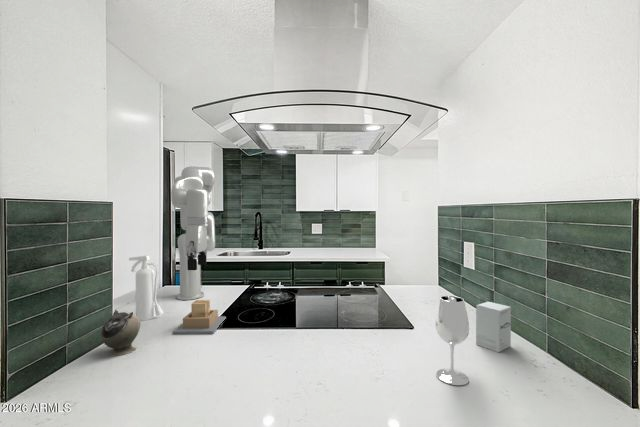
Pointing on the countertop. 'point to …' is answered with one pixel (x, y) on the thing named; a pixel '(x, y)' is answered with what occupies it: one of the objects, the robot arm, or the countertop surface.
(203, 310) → the oak block
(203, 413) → the countertop surface
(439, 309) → the wineglass
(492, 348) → the supplement box
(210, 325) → the base board
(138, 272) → the fire extinguisher
